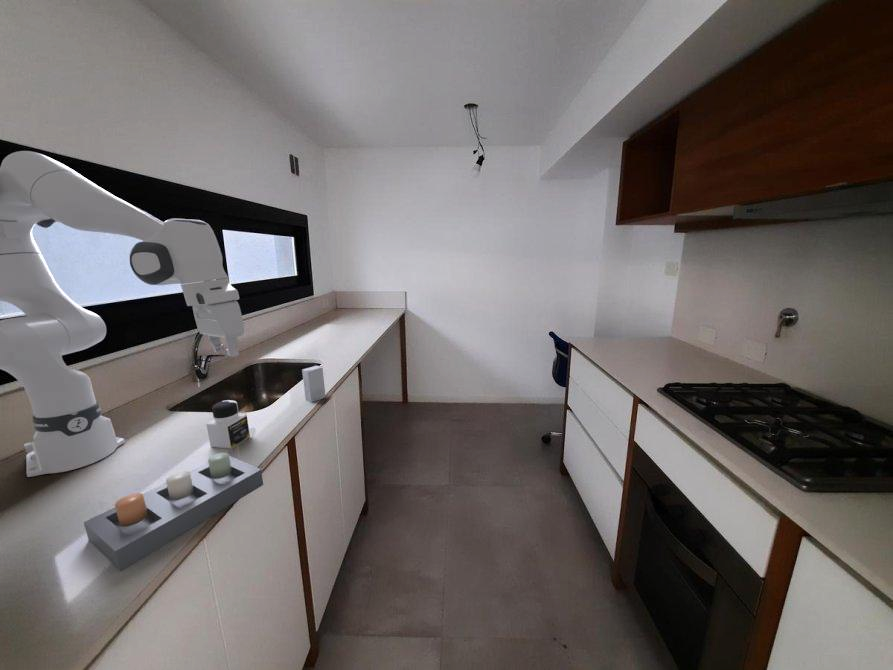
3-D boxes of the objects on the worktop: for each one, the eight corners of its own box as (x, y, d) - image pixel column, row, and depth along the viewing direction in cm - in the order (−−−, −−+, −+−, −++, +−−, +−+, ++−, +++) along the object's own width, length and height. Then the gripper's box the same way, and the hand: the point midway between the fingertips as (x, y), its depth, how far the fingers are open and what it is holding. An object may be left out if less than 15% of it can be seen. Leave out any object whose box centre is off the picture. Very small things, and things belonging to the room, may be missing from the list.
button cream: (165, 496, 73) (162, 479, 72) (187, 485, 76) (184, 469, 75) (175, 502, 71) (171, 485, 70) (197, 491, 74) (194, 474, 73)
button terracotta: (115, 521, 66) (111, 503, 65) (142, 508, 69) (137, 490, 68) (125, 529, 64) (120, 510, 63) (151, 515, 67) (147, 497, 66)
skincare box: (319, 395, 135) (316, 364, 132) (326, 397, 132) (323, 366, 129) (304, 400, 130) (301, 369, 127) (311, 403, 127) (307, 371, 125)
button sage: (207, 475, 79) (204, 459, 78) (225, 466, 83) (222, 451, 82) (217, 480, 77) (214, 464, 76) (235, 471, 81) (232, 455, 80)
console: (88, 540, 66) (83, 522, 66) (228, 468, 88) (226, 454, 88) (120, 571, 60) (115, 551, 59) (263, 484, 82) (261, 469, 81)
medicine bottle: (231, 449, 97) (224, 409, 95) (209, 447, 99) (202, 407, 96) (250, 436, 104) (244, 398, 102) (229, 434, 106) (223, 397, 103)
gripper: (179, 297, 82) (197, 354, 86) (206, 296, 69) (226, 363, 72) (210, 292, 87) (226, 346, 90) (241, 290, 73) (258, 354, 77)
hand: (226, 354), depth 81 cm, fingers open, 8 cm apart
